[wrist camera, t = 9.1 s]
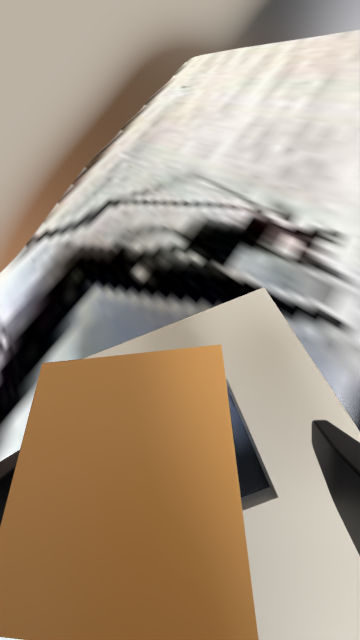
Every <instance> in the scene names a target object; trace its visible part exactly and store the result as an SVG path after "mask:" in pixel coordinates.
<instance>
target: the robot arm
mask: <svg viewBox="0 0 360 640" xmlns="http://www.w3.org/2000/svg"><path fill="white" fill-rule="evenodd" d="M312 446H313V449H314V452H315V455H316V457H317V460H318V463H319V465H320V468H321V471H322V473H323V476H324V479H325V481H326V484H327V487H328V489H329V492H330V495H331V497H332V500H333V502H334V504H335V506H336V509H337V511H338V513H339V515H340V517H341V519H342V521H343V523H344V525H345V527H346V529H347V531H348V533H349V535H350V537H351V540H352V542H353V544H354V546H355V548H356V550H357V552H358V554H359V556H360V442H358V441H357V440H355V439H354V438H352V437H351V436H349V435H348V434H347V433H345V432H344V431H342V430H341V429H339V428H338V427H336V426H335V425H333V424H332V423H330V422H329V421H327V420H313V421H312ZM19 452H20V450H19V451H17V452H15V453H14V454H12V455H11V456H9V457H7V458H6V459H4V460H2V461H1V462H0V526H1V522H2V518H3V514H4V510H5V507H6V503H7V499H8V495H9V491H10V487H11V483H12V479H13V475H14V472H15V468H16V464H17V460H18V456H19Z"/></svg>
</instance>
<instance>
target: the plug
mask: <svg viewBox="0 0 360 640" xmlns="http://www.w3.org/2000/svg"><path fill="white" fill-rule="evenodd" d="M0 637H6V638H15V639H23V640H259V639H258V631H257V623H256V615H255V607H254V598H253V590H252V582H251V574H250V566H249V558H248V550H247V542H246V534H245V526H244V518H243V510H242V502H241V494H240V486H239V478H238V470H237V462H236V454H235V446H234V438H233V430H232V422H231V414H230V407H229V399H228V391H227V384H226V376H225V368H224V361H223V353H222V345H221V344H220V345H210V346H201V347H191V348H182V349H173V350H163V351H154V352H144V353H135V354H125V355H116V356H106V357H97V358H87V359H78V360H69V361H59V362H50V363H42V367H41V371H40V375H39V379H38V382H37V386H36V390H35V394H34V398H33V402H32V406H31V410H30V413H29V417H28V421H27V425H26V429H25V433H24V437H23V441H22V444H21V448H20V452H19V456H18V460H17V464H16V468H15V472H14V475H13V479H12V483H11V487H10V491H9V495H8V499H7V503H6V507H5V510H4V514H3V518H2V522H1V526H0Z"/></svg>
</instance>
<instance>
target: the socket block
mask: <svg viewBox="0 0 360 640" xmlns="http://www.w3.org/2000/svg"><path fill="white" fill-rule="evenodd" d="M220 344H221V345H222V353H223V361H224V368H225V376H226V384H227V389H228V390H229V392H230V395H231V397H232V399H233V402H234V404H235V406H236V409H237V411H238V413H239V416H240V418H241V420H242V423H243V425H244V427H245V430H246V432H247V434H248V437H249V439H250V441H251V444H252V446H253V448H254V451H255V453H256V455H257V458H258V460H259V462H260V465H261V467H262V469H263V472H264V474H265V476H266V479H267V481H268V483H269V486H270V487H268V488H266V489H263V490H260V491H258V492H255V493H252V494H250V495H247V496H244V497H242V498H241V502H242V510H243V518H244V526H245V534H246V542H247V550H248V558H249V566H250V574H251V582H252V590H253V598H254V607H255V615H256V623H257V631H258V639H259V640H360V556H359V554H358V552H357V550H356V548H355V546H354V544H353V542H352V540H351V537H350V535H349V533H348V531H347V529H346V527H345V525H344V523H343V521H342V519H341V517H340V515H339V513H338V511H337V509H336V506H335V504H334V502H333V500H332V497H331V495H330V492H329V489H328V487H327V484H326V481H325V479H324V476H323V473H322V471H321V468H320V465H319V463H318V460H317V457H316V455H315V452H314V449H313V446H312V421H313V420H327V421H329V422H330V423H332V424H333V425H335V426H336V427H338V428H339V429H341V430H342V431H344V432H345V433H347V434H348V435H349V436H351V437H352V438H354V439H355V440H357V441H358V442H360V431H359V430H358V428H357V427H356V425H355V424H354V422H353V421H352V419H351V418H350V416H349V415H348V413H347V412H346V410H345V409H344V407H343V406H342V404H341V403H340V401H339V400H338V398H337V397H336V395H335V394H334V392H333V391H332V389H331V388H330V386H329V385H328V383H327V381H326V380H325V378H324V377H323V375H322V374H321V372H320V371H319V369H318V368H317V366H316V365H315V363H314V362H313V360H312V359H311V357H310V356H309V354H308V353H307V351H306V350H305V348H304V347H303V345H302V344H301V342H300V341H299V339H298V338H297V336H296V335H295V333H294V332H293V330H292V329H291V327H290V326H289V324H288V323H287V321H286V319H285V318H284V316H283V315H282V313H281V312H280V310H279V309H278V307H277V306H276V304H275V303H274V301H273V300H272V298H271V297H270V295H269V294H268V292H267V291H266V289H265V288H261V289H258V290H256V291H253V292H251V293H248V294H246V295H243V296H241V297H238V298H236V299H233V300H231V301H228V302H225V303H223V304H220V305H218V306H215V307H213V308H210V309H208V310H205V311H203V312H200V313H198V314H195V315H192V316H190V317H187V318H185V319H182V320H180V321H177V322H175V323H172V324H170V325H167V326H164V327H162V328H159V329H157V330H154V331H152V332H149V333H147V334H144V335H142V336H139V337H137V338H134V339H131V340H129V341H126V342H124V343H121V344H119V345H116V346H114V347H111V348H109V349H106V350H103V351H101V352H98V353H96V354H93V355H91V356H88V357H86V358H83V359H87V358H97V357H106V356H116V355H125V354H135V353H144V352H154V351H163V350H173V349H182V348H191V347H201V346H210V345H220Z"/></svg>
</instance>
